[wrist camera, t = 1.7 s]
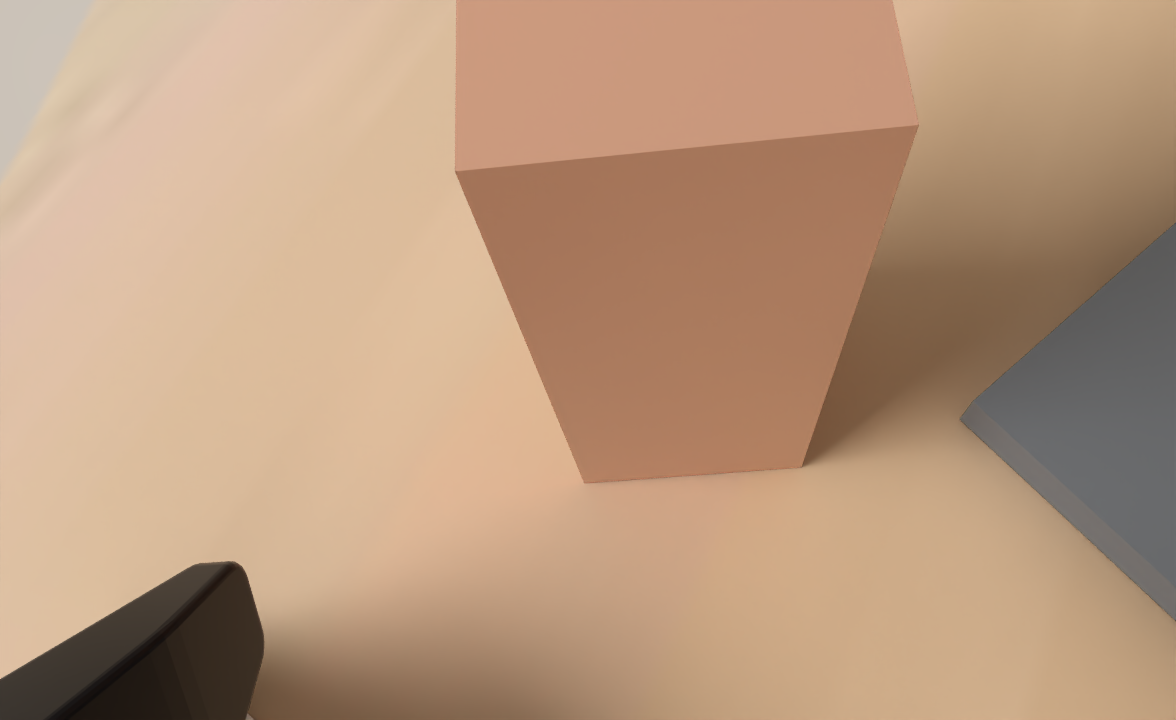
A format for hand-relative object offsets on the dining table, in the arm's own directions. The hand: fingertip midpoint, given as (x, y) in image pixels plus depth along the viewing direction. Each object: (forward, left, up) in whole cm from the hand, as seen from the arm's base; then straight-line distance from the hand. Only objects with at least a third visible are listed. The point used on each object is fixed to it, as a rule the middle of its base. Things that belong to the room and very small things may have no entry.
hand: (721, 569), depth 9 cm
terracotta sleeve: (+6, -4, -13) cm, 15 cm away
